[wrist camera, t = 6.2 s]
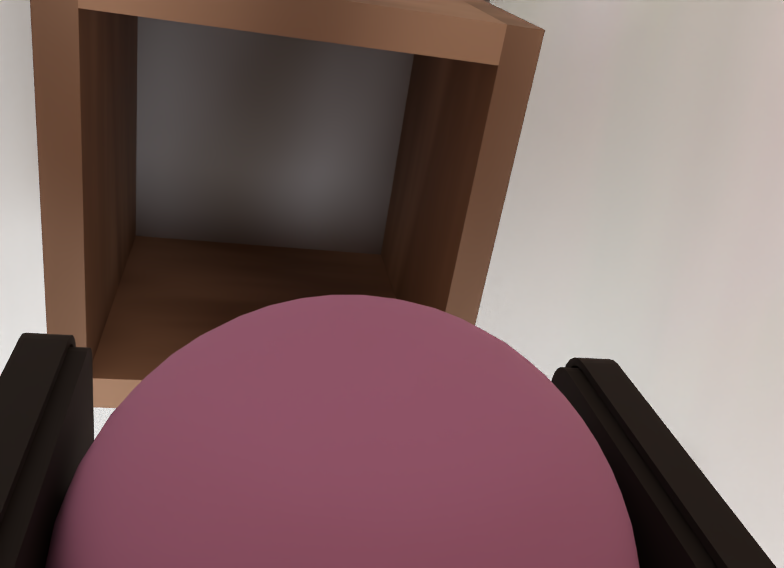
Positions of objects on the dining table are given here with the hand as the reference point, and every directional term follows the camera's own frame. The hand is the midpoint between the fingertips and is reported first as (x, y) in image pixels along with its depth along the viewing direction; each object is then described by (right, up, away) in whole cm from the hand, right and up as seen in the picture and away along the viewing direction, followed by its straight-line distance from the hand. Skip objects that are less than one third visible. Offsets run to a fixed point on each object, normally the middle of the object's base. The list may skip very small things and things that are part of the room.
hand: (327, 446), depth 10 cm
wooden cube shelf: (-3, +7, +14) cm, 16 cm away
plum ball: (0, 0, +1) cm, 1 cm away
